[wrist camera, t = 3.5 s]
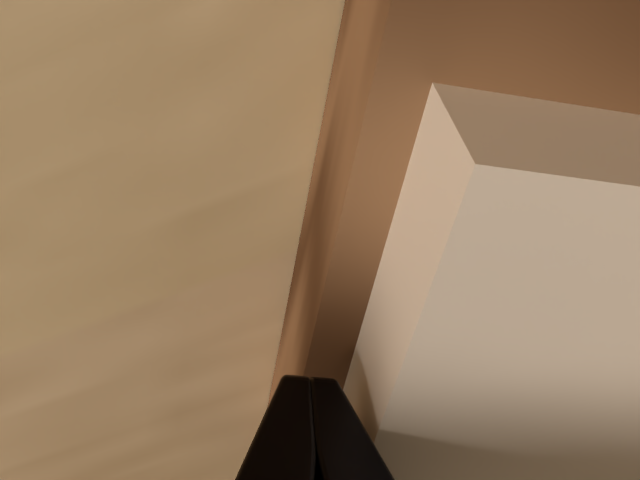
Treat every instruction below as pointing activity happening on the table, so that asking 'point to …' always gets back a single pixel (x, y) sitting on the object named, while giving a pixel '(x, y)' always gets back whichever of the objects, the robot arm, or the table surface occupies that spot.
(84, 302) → the table surface
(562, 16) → the brown wooden block
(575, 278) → the tile
